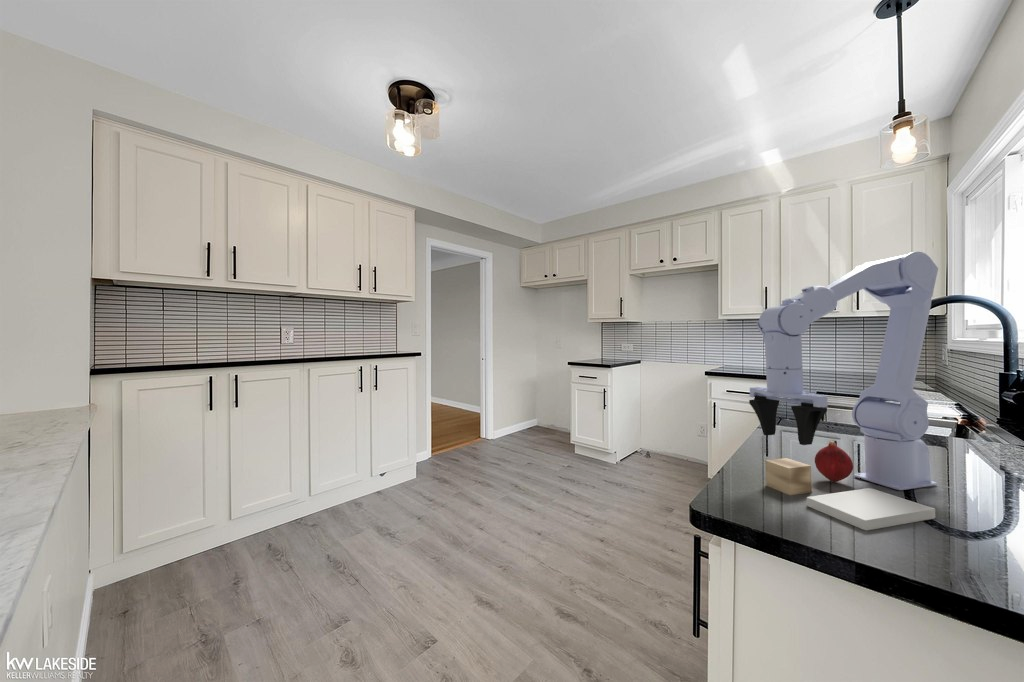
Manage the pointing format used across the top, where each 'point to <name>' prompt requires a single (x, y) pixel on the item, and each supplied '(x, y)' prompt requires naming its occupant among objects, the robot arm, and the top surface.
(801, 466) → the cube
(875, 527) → the cutting board
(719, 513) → the top surface
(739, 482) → the top surface
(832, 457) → the onion
